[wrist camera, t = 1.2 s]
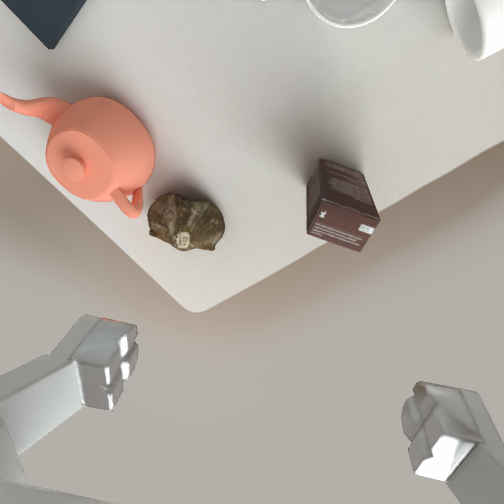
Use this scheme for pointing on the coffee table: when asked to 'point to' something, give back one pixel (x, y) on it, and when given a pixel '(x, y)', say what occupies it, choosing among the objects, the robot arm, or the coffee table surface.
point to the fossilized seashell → (186, 222)
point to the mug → (477, 25)
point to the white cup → (349, 11)
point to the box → (340, 206)
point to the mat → (46, 17)
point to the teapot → (94, 148)
